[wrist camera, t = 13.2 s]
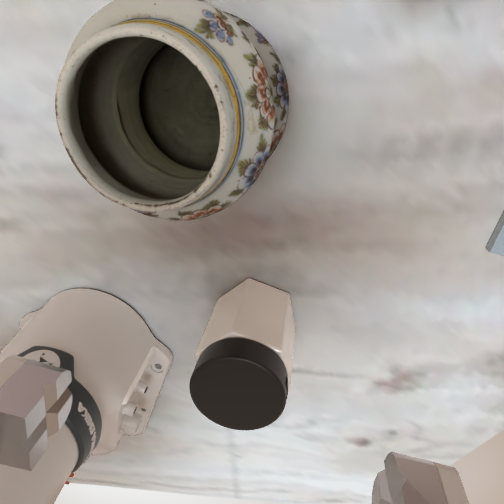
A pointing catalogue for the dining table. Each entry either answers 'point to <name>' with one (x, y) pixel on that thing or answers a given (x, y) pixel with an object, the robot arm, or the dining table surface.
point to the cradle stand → (497, 238)
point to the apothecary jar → (170, 106)
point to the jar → (245, 357)
